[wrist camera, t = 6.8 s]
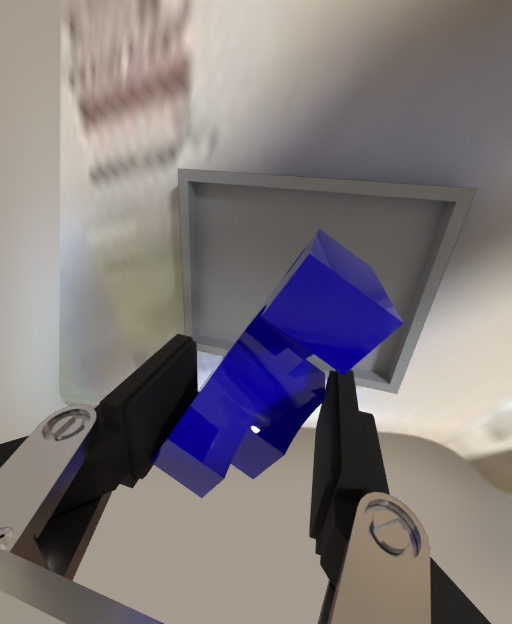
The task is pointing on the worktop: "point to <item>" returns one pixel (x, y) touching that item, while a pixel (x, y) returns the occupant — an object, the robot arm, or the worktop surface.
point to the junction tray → (292, 240)
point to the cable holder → (279, 367)
